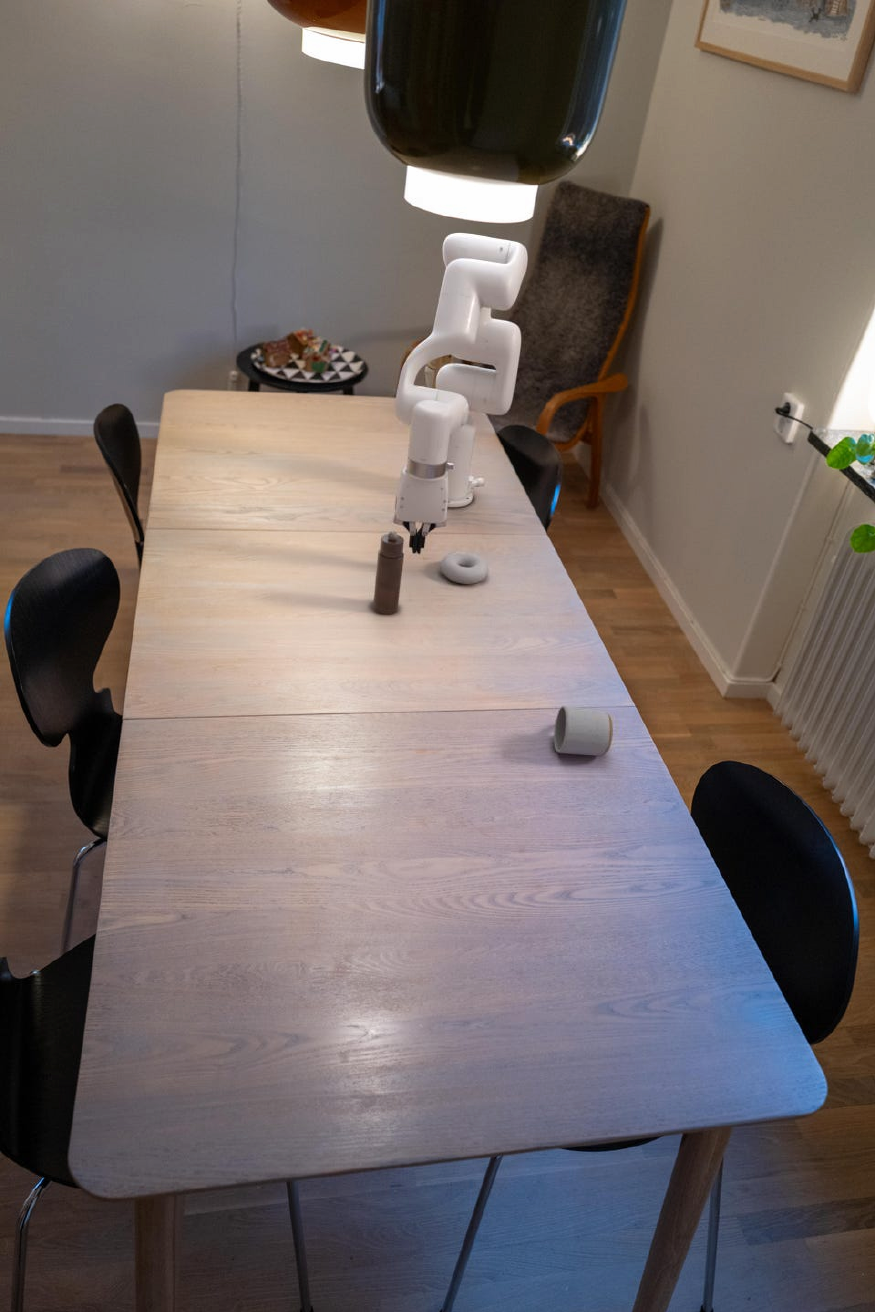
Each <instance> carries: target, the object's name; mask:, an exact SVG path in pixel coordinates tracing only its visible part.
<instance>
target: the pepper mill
mask: <svg viewBox="0 0 875 1312" xmlns="http://www.w3.org/2000/svg"><path fill="white" fill-rule="evenodd" d="M404 541H405V539H404V537H403V536H401V535H399V534H398V532H397V531H395V530H391V531H389V532H388V533H386V534H383V535H381V537H380V546H379V547H380V548H379V550H378V552H377V560H376V561H377V562H376V571H375V581H374V582H375V583H374V593H373V603H372V608H373V611H375V612H376V613H378V614H381V615H394V614H395V613H397V612H398V610H399V602H400V593H401V586H402V585H401V583H402V575H403V566H404V559H405V553H404Z"/></svg>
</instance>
